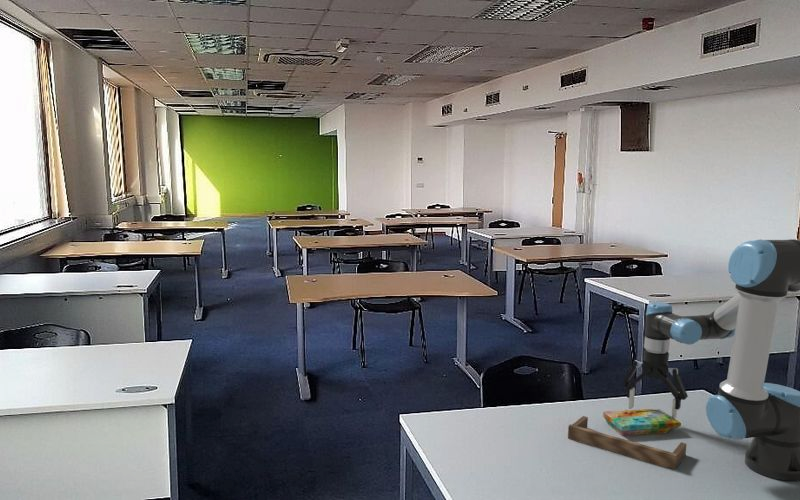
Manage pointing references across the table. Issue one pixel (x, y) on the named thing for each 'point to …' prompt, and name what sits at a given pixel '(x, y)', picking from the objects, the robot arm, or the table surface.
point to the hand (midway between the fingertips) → (652, 412)
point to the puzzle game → (640, 421)
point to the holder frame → (625, 445)
